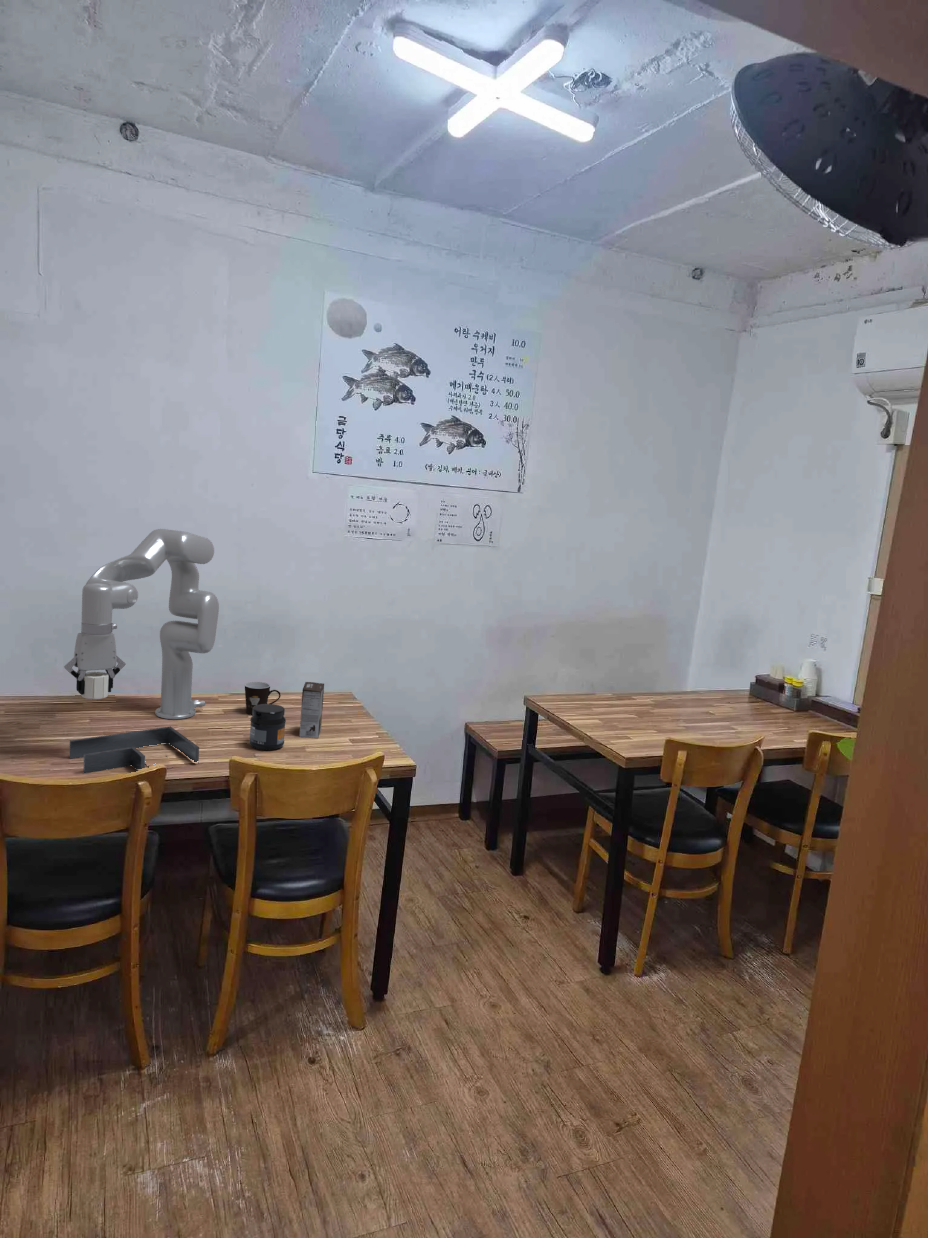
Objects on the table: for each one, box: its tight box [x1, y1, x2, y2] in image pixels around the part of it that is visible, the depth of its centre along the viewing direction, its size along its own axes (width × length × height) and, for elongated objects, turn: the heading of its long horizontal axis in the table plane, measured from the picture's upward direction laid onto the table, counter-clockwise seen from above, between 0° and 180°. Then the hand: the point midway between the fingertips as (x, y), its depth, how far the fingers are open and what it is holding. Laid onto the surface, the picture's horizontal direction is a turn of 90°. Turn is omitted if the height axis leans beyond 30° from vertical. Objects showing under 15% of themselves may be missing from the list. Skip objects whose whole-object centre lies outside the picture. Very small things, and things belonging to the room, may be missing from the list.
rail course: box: [69, 726, 200, 774], centre depth 214 cm, size 28×20×5 cm
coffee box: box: [299, 681, 325, 739], centre depth 251 cm, size 9×6×16 cm
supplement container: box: [248, 703, 287, 751], centre depth 236 cm, size 10×10×12 cm
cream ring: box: [80, 671, 109, 700], centre depth 213 cm, size 6×6×6 cm
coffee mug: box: [244, 681, 281, 716], centre depth 265 cm, size 12×9×10 cm
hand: (94, 691), depth 213 cm, fingers closed on cream ring, 6 cm apart
